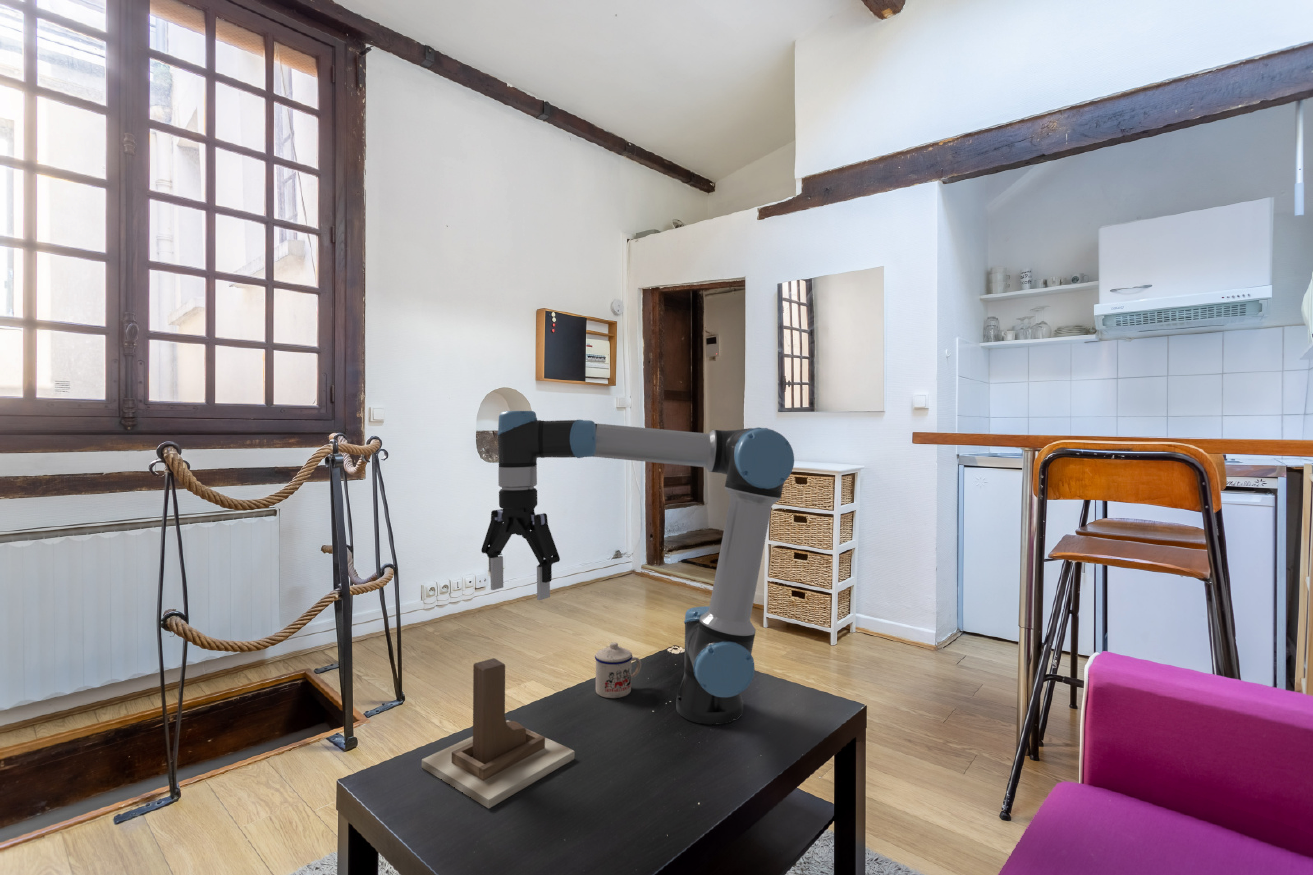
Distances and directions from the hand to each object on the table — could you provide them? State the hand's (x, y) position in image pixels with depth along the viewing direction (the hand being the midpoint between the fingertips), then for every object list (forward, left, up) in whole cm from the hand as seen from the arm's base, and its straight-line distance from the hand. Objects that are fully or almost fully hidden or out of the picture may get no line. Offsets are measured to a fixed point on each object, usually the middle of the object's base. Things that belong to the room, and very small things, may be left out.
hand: (519, 593), depth 123 cm
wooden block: (-3, +7, -29) cm, 30 cm away
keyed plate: (-3, +7, -30) cm, 31 cm away
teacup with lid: (+1, -32, -31) cm, 44 cm away
